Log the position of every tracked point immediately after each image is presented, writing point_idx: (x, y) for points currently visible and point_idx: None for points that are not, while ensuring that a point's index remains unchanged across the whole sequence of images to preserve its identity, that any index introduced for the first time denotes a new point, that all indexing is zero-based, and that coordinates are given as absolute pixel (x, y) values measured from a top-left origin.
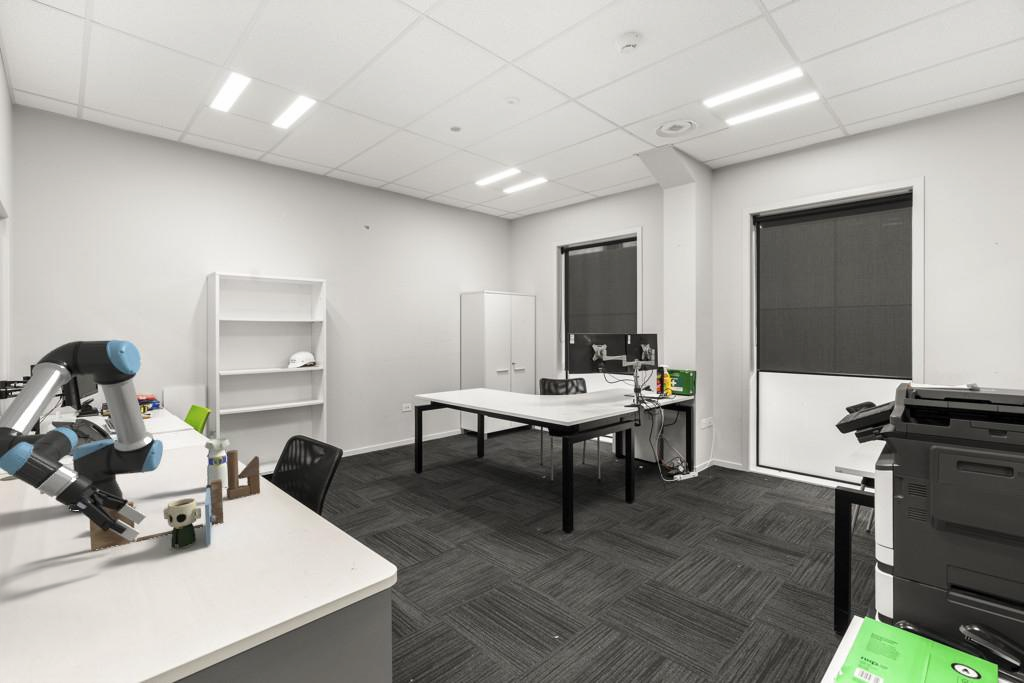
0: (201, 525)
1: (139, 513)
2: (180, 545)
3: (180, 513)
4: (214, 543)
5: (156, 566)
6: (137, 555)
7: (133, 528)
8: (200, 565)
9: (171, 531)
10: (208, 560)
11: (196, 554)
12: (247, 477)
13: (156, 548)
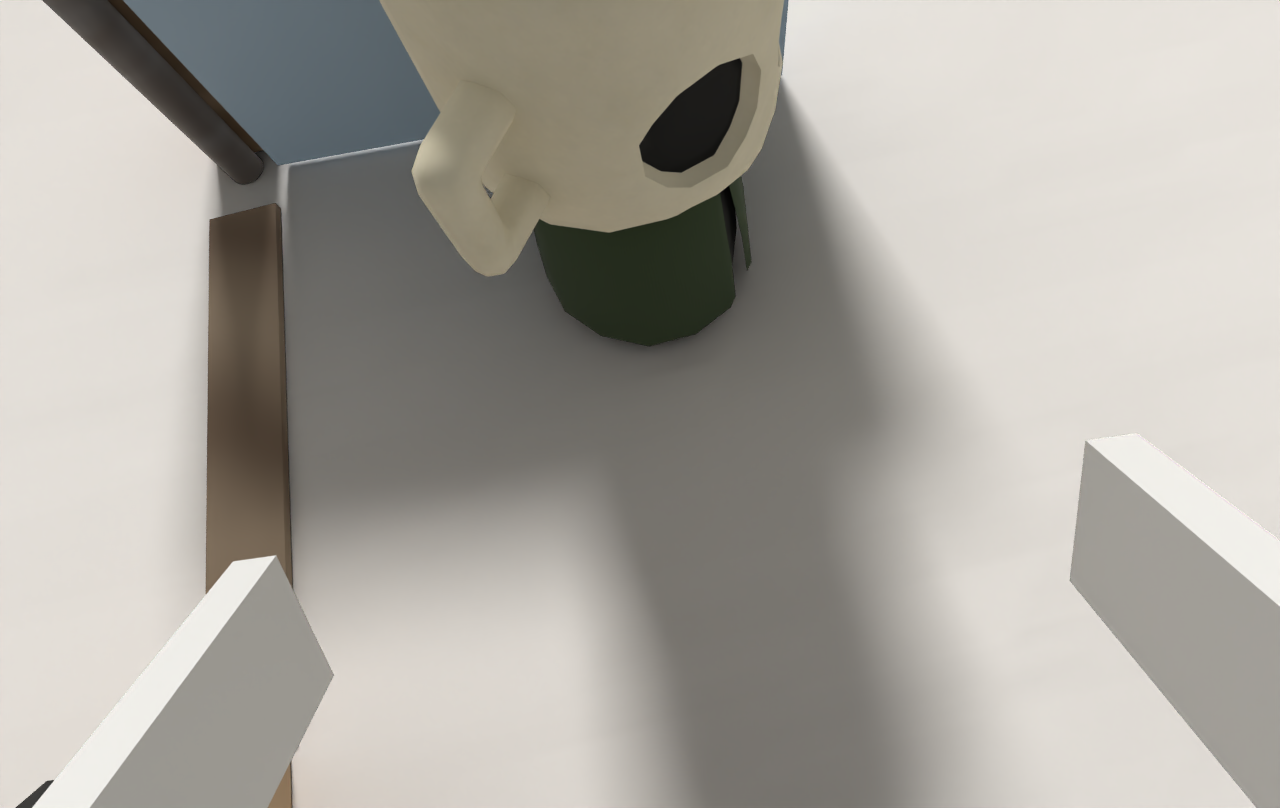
0: (244, 219)
1: (212, 655)
2: (748, 242)
3: None
4: None
5: (1078, 371)
6: (709, 623)
7: (1192, 514)
8: (1172, 46)
9: (231, 440)
10: (1084, 16)
11: (915, 123)
12: None
13: (603, 482)
